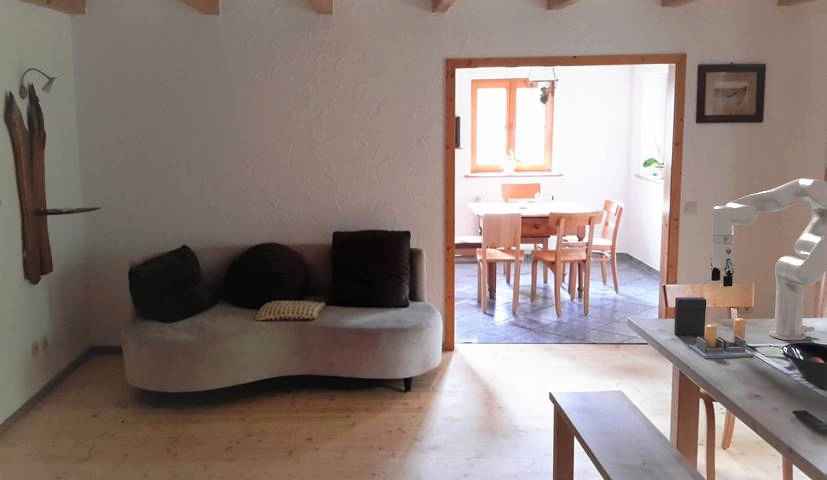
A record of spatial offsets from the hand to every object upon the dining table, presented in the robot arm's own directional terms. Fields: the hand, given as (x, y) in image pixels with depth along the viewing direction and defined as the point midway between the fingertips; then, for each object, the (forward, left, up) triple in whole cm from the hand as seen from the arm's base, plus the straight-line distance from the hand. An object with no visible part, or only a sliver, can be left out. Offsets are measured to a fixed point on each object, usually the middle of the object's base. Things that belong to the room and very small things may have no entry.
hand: (721, 283), depth 265 cm
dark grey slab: (+7, -10, -23) cm, 26 cm away
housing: (+5, +12, -23) cm, 26 cm away
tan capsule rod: (-7, +2, -23) cm, 24 cm away
